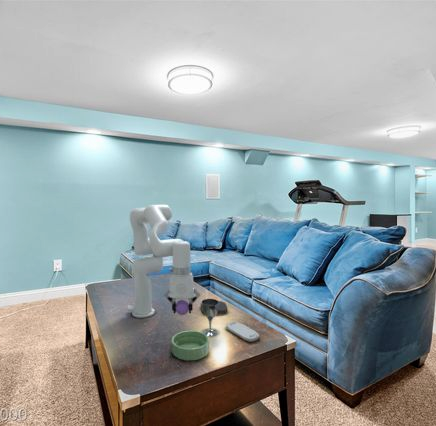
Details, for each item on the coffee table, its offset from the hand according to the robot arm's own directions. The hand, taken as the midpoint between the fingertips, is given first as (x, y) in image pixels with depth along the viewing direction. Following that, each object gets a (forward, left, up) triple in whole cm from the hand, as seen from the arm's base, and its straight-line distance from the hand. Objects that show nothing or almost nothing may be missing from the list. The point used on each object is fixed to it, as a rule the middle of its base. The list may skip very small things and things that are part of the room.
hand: (182, 311), depth 115 cm
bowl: (+3, -2, -16) cm, 16 cm away
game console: (+27, +13, -16) cm, 34 cm away
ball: (0, 0, -1) cm, 1 cm away
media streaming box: (+15, +41, -16) cm, 47 cm away
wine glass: (+12, +14, -16) cm, 25 cm away
